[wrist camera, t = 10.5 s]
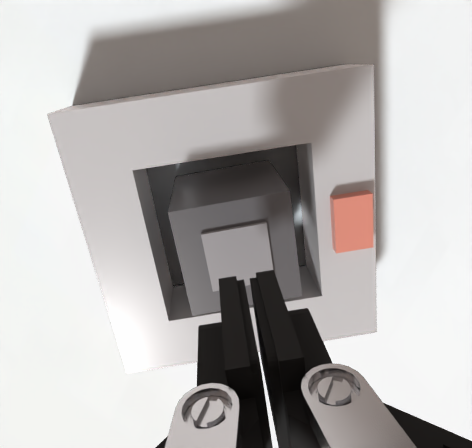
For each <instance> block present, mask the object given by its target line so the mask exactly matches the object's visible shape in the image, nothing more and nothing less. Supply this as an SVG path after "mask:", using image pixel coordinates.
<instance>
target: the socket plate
mask: <svg viewBox="0 0 472 448" xmlns="http://www.w3.org/2000/svg"><path fill="white" fill-rule="evenodd" d="M47 116H48V119H49V122H50V126H51V129H52V132H53V135H54V139H55V142H56V145H57V148H58V152H59V155H60V158H61V161H62V165H63V168H64V171H65V174H66V178H67V181H68V184H69V187H70V191H71V194H72V197H73V200H74V204H75V207H76V210H77V213H78V217H79V220H80V223H81V226H82V230H83V233H84V236H85V239H86V243H87V246H88V249H89V252H90V256H91V259H92V262H93V266H94V269H95V272H96V275H97V279H98V282H99V285H100V288H101V292H102V295H103V298H104V301H105V305H106V308H107V311H108V314H109V318H110V321H111V324H112V327H113V331H114V334H115V337H116V340H117V344H118V347H119V350H120V353H121V357H122V360H123V363H124V366H125V370H126V373H127V374H129V373H135V372H141V371H147V370H153V369H159V368H165V367H171V366H177V365H183V364H189V363H195V362H198V327H199V325H205V324H211V323H218V322H222V321H221V311H217V312H211V313H206V314H200V315H195V316H192V313H191V308H190V304H189V300H188V296H187V292H186V287H185V285H183V286H176V287H173V284H172V280H171V276H170V271H169V267H168V262H167V258H166V254H165V249H164V245H163V241H162V236H161V232H160V228H159V223H158V219H157V214H156V210H155V206H154V201H153V197H152V193H151V188H150V184H149V179H148V175H147V171H146V168H151V167H158V166H164V165H170V164H177V163H183V162H190V161H196V160H202V159H209V158H215V157H222V156H228V155H235V154H241V153H247V152H254V151H260V150H267V149H273V148H279V147H286V146H292V145H296V149H297V161H298V173H299V185H300V197H301V209H302V221H303V233H304V245H305V257H306V266H300V267H299V273H300V282H301V291H302V296H299V297H294V298H288V299H284V301H285V304H286V307H287V310H288V311H291V310H297V309H304V308H308V309H309V311H310V313H311V315H312V318H313V320H314V322H315V325H316V327H317V329H318V332H319V334H320V336H321V338H322V341H327V340H333V339H339V338H345V337H351V336H357V335H363V334H369V333H375V332H377V313H376V215H375V116H374V64H344V65H338V66H331V67H325V68H318V69H311V70H305V71H298V72H292V73H285V74H278V75H272V76H265V77H259V78H252V79H246V80H239V81H232V82H226V83H219V84H213V85H206V86H200V87H193V88H186V89H180V90H173V91H167V92H160V93H153V94H147V95H140V96H134V97H127V98H121V99H114V100H107V101H101V102H94V103H88V104H81V105H75V106H70V107H67V108H64V109H61V110H58V111H55V112H52V113H49V114H47ZM249 308H250V314H251V319H252V324H253V329H254V335H255V340H256V345H257V350H258V352H260V347H259V341H258V334H257V327H256V320H255V313H254V306H253V305H250V306H249Z"/></svg>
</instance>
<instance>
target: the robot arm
mask: <svg viewBox="0 0 472 448" xmlns="http://www.w3.org/2000/svg"><path fill="white" fill-rule="evenodd" d="M250 286H251V292H252V299H253V306H254V313H255V320H256V327H257V334H258V341H259V347H260V354H261V360H262V365H263V370H264V375H265V380H266V385H267V390H268V395H269V401H270V406H271V411H272V416H273V421H274V426H275V431H276V436H277V441H278V446H279V448H472V441H470V440H468V439H465V438H463V437H461V436H459V435H456V434H454V433H452V432H449V431H447V430H445V429H442V428H440V427H438V426H435V425H433V424H431V423H429V422H426V421H424V420H422V419H419V418H417V417H415V416H412V415H410V414H408V413H405V412H403V411H401V410H398V409H396V408H394V407H392V406H389V405H387V404H385V403H383V402H382V401H381V400H380V398H379V397H378V396H377V394H376V393H375V392H374V390H373V389H372V388H371V386H370V385H369V384H368V382H367V381H366V380H365V378H364V377H363V376H362V375H361V374H360V373H359V372H358V371H356V370H354V369H352V368H351V367H349V366H345V365H341V364H332V361H331V359H330V357H329V354H328V352H327V350H326V348H325V345H324V343H323V341H322V338H321V336H320V334H319V332H318V329H317V327H316V325H315V322H314V320H313V318H312V315H311V313H310V311H309V309H308V308H304V309H297V310H291V311H288V310H287V307H286V304H285V301H284V298H283V295H282V292H281V290H280V287H279V284H278V281H277V278H276V275H275V272H274V270H269V271H263V272H257V273H256V278H250ZM219 293H220V307H221V321H222V322H218V323H211V324H205V325H199V327H198V362H197V387H195V388H193V389H191V390H190V391H188V392H187V393H185V394H184V395H183V397H182V398H181V399H180V400H179V401H178V404H177V406H176V408H175V411H174V415H173V419H172V423H171V426H170V430H169V434H168V436H167V437H166V438H165V439H164V440H163V441H162V442H161V443H160V444H159V445H158V446H157V447H156V448H272V441H271V434H270V427H269V421H268V414H267V407H266V400H265V394H264V387H263V380H262V373H261V367H260V361H259V356H258V350H257V345H256V340H255V335H254V329H253V324H252V319H251V314H250V308H249V303H248V298H247V293H246V287H245V282H244V279H243V280H237V278H236V276H232V277H226V278H220V279H219Z"/></svg>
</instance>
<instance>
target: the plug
mask: <svg viewBox="0 0 472 448" xmlns="http://www.w3.org/2000/svg"><path fill="white" fill-rule="evenodd" d="M168 216H169V220H170V225H171V229H172V233H173V237H174V241H175V246H176V250H177V254H178V258H179V262H180V266H181V271H182V275H183V279H184V283H185V287H186V292H187V296H188V300H189V304H190V308H191V313H192V316H195V315H200V314H206V313H211V312H217V311H221V307H220V293H219V279H220V278H226V277H232V276H236V278H237V280H243V279H244V282H245V287H246V293H247V298H248V303H249V306H250V305H253V299H252V292H251V286H250V278H256V273H257V272H263V271H269V270H274V272H275V275H276V278H277V281H278V284H279V287H280V290H281V292H282V295H283V298H284V299H288V298H294V297H299V296H302V291H301V282H300V273H299V264H298V256H297V247H296V238H295V230H294V221H293V212H292V203H291V195H290V190H289V189H288V187H287V186H286V184H285V183H284V181H283V180H282V179H281V177H280V176H279V174H278V173H277V171H276V170H275V169H274V167H273V166H272V164H271V163H270V161H269V160H267V161H261V162H255V163H250V164H244V165H238V166H233V167H227V168H221V169H216V170H210V171H204V172H199V173H193V174H187V175H182V176H176V178H175V182H174V187H173V191H172V196H171V200H170V204H169V209H168Z"/></svg>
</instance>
